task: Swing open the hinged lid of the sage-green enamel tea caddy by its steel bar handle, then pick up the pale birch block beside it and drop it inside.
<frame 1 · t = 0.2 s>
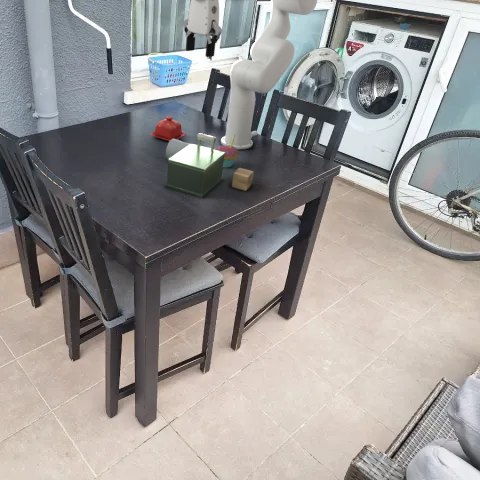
hand: (199, 53, 144), 36 cm above the table, tool pointing down, fingers open, 9 cm apart
lid: (198, 149, 141), point 12 cm above the table, hinge at 0.0°
cupcake: (225, 165, 160), on the table
butter dish: (168, 137, 181), on the table
block: (241, 186, 147), on the table
ceramic mug: (180, 160, 162), on the table
caddy: (194, 183, 147), on the table
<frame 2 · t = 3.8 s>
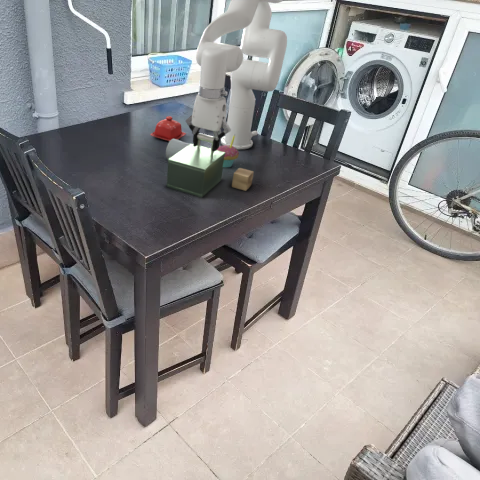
hand: (205, 147, 146), 11 cm above the table, tool pointing down, fingers closed on lid, 6 cm apart
lid: (198, 149, 141), point 12 cm above the table, hinge at 0.0°, touching gripper
everything else where it was.
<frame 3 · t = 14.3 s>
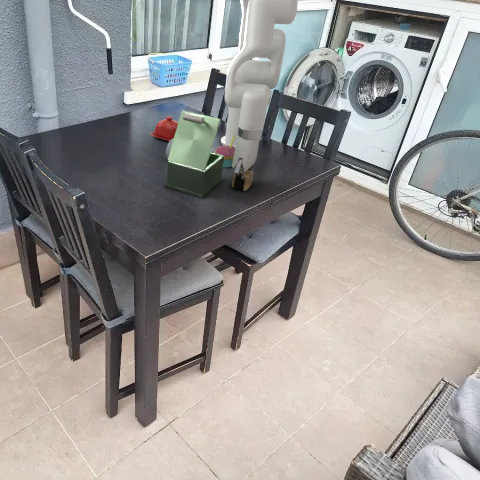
hand: (241, 184, 147), 0 cm above the table, tool pointing down, fingers closed on block, 5 cm apart
lid: (190, 138, 133), point 17 cm above the table, hinge at 60.8°
block: (241, 186, 147), on the table, touching gripper
everything else where it was.
when the fingers open (11 cm above the table, at t = 21.6 s): block drops 10 cm, resting on caddy.
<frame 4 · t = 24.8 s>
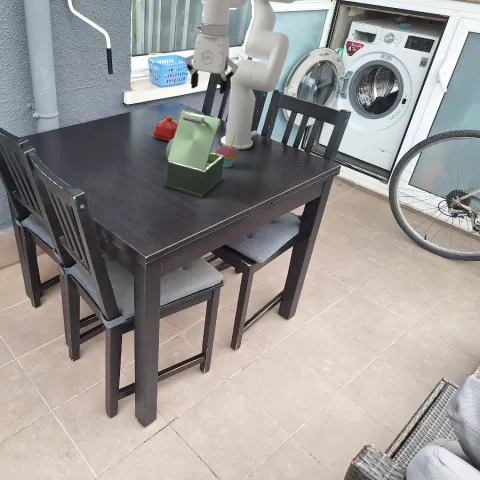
hand: (208, 90, 138), 28 cm above the table, tool pointing down, fingers open, 9 cm apart
block: (198, 177, 149), point 1 cm above the table, touching caddy
everything else where it was.
at the end: lid at +61° (first picture: +0°); block inside the target area in the caddy (3.0 cm from its centre), point 0.9 cm above the caddy's base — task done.
